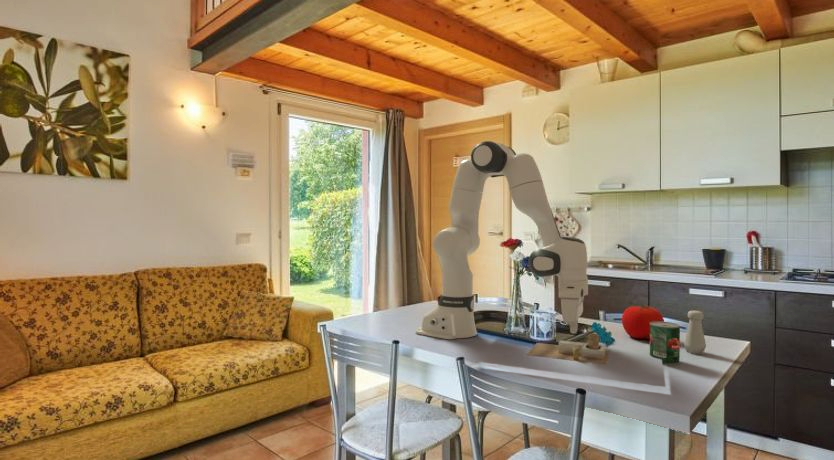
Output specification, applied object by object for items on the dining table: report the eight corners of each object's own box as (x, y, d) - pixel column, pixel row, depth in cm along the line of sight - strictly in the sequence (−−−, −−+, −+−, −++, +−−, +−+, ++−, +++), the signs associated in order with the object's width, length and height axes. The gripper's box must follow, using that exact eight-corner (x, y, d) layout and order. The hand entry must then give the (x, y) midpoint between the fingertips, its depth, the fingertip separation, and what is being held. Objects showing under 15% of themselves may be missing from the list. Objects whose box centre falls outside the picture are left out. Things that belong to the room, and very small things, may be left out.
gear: (609, 346, 148) (589, 320, 154) (596, 357, 151) (576, 331, 156) (623, 345, 156) (603, 320, 162) (610, 355, 159) (591, 330, 164)
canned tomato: (648, 356, 144) (648, 320, 144) (677, 358, 141) (678, 322, 141) (650, 363, 137) (650, 325, 136) (681, 366, 134) (681, 328, 133)
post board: (526, 359, 141) (526, 334, 140) (536, 347, 154) (536, 324, 154) (605, 369, 131) (605, 343, 131) (609, 355, 144) (609, 331, 144)
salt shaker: (704, 356, 143) (705, 313, 143) (683, 353, 147) (683, 311, 147) (706, 351, 148) (707, 310, 148) (686, 348, 152) (686, 308, 151)
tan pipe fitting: (557, 353, 141) (557, 344, 141) (560, 348, 147) (561, 339, 147) (604, 359, 136) (604, 349, 136) (605, 353, 141) (605, 343, 141)
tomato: (640, 331, 174) (640, 300, 174) (672, 340, 162) (672, 306, 161) (613, 335, 170) (613, 302, 169) (644, 344, 157) (644, 309, 157)
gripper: (567, 284, 159) (568, 324, 159) (557, 292, 141) (558, 338, 141) (587, 284, 156) (587, 326, 156) (579, 293, 138) (580, 340, 138)
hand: (573, 332), depth 148 cm, fingers closed
